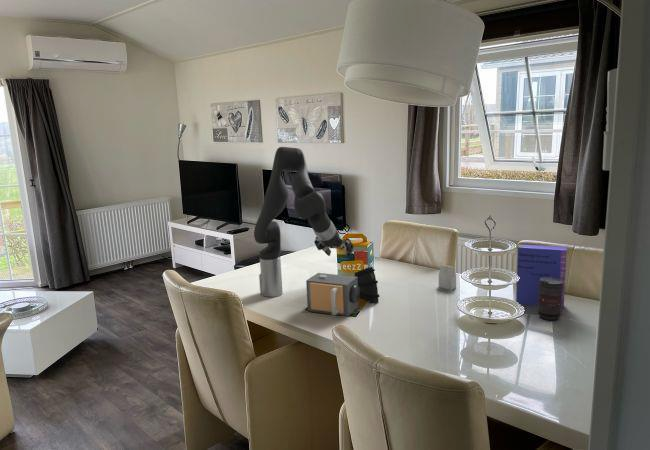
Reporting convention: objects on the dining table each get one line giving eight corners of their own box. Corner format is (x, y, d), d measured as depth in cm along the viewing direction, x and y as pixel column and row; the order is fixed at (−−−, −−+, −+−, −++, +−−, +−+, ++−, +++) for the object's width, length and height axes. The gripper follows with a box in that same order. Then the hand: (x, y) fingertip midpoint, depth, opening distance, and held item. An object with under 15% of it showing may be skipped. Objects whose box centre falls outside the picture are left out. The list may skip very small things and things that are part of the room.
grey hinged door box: (307, 310, 209) (305, 278, 206) (319, 301, 218) (317, 271, 216) (351, 316, 200) (350, 283, 198) (362, 307, 210) (361, 275, 207)
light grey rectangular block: (451, 290, 226) (451, 268, 224) (438, 286, 231) (438, 265, 229) (456, 288, 228) (456, 266, 226) (443, 284, 233) (443, 263, 231)
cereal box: (563, 305, 203) (566, 246, 198) (563, 309, 198) (566, 249, 194) (517, 300, 210) (518, 244, 205) (516, 304, 206) (517, 246, 201)
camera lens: (550, 324, 185) (552, 285, 182) (532, 317, 192) (534, 279, 189) (565, 319, 188) (568, 281, 185) (547, 313, 195) (549, 275, 192)
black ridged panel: (376, 302, 210) (366, 267, 212) (360, 307, 221) (350, 274, 224) (384, 300, 212) (373, 266, 214) (367, 305, 223) (357, 272, 225)
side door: (304, 312, 203) (302, 286, 201) (310, 307, 208) (309, 282, 205) (338, 317, 197) (337, 290, 194) (343, 312, 201) (342, 285, 199)
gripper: (346, 223, 184) (358, 247, 197) (311, 222, 190) (325, 245, 203) (341, 241, 181) (354, 264, 193) (305, 239, 187) (320, 261, 199)
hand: (339, 254), depth 198 cm, fingers open, 8 cm apart
